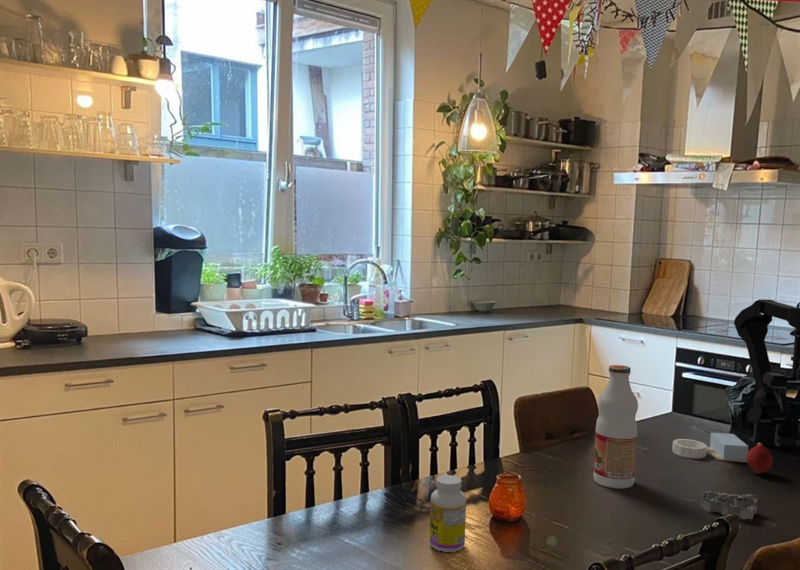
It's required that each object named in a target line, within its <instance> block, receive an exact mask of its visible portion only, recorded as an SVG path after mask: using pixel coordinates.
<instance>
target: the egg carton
mask: <svg viewBox="0 0 800 570" xmlns="http://www.w3.org/2000/svg"><path fill="white" fill-rule="evenodd" d="M700 495H701V496H702V497H701V500H700V501H701V503H700V504H701V505H700V508H701V509H704V511H705V512H709V513H711V512H716V513H720V514H721V515H722V516H724V515H725V514H726V515H729V514H733V515H736V516H739V517H740V518H741V519H753V518H754V516H756V515H755V514H757V509H758V507H757V502H758V500H759V498H758V495H754V494H751V493H750V494H748V493H742V494H741V495H739V494H737V493H734V494H728V493H725V492H713V490H708V489H706V490H705V491H703V492H702V493H701V494H700ZM736 516H735V517H736ZM739 517H737V518H738V519H739ZM753 520H754V519H753Z"/></svg>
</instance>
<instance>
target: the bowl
mask: <svg viewBox="0 0 800 570" xmlns="http://www.w3.org/2000/svg"><path fill="white" fill-rule="evenodd" d="M707 446H708V445H707V444H706V443H704V442H702V441H699V440H695V439H689V438H687V439H686V438H677V439H674V440H673V441H672V446H671V447H672V448H671V449H672V454H674V455H676V456H678V457H681V458H686V459H693V460H700V459H701V460H702V459H706V457H707V453H708V451H707Z"/></svg>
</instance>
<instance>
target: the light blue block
mask: <svg viewBox="0 0 800 570" xmlns="http://www.w3.org/2000/svg"><path fill="white" fill-rule="evenodd" d="M709 442H710V443H709V447H711V448H712V449H713V450H714V451H715V452H716V453H717V454H718V455H719V456H720V457H721V458H722V459H724V460H738V461H747V453H748V452H749V445H748V444H746V443H745V442H744V441H743V440H742V439H740V438H739V437H738V436H737V435H735V434H734V433H723V432H722V433H721V432H710V440H709Z"/></svg>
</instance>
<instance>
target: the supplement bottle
mask: <svg viewBox="0 0 800 570" xmlns="http://www.w3.org/2000/svg"><path fill="white" fill-rule="evenodd" d="M435 483H436V484H435V485H436V488H437V489H435V490H434V491H432V493H431V496H430V507H429V509H430V511H429V512H430V513H429V536H428V539H429V545H430V547H431V548H432V547H433V548H434V549H433V548H432V549H433V550H435V549H436V551H437V550H438V551H437V552H440V551H443V552H442V553H445V552H451V553H456V551H457V552H459V551H461V550H463V548H464V547H465V543H466V519H467V518H466V515H467V496H466V494H465V493H464V492H463V491H462V490H461V488H462V486H463V485H462V483H463V482H462V478H461V477H459V476H456V475H452V474H451V475H450V474H444V475H440V476H437V478H436V481H435Z"/></svg>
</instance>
